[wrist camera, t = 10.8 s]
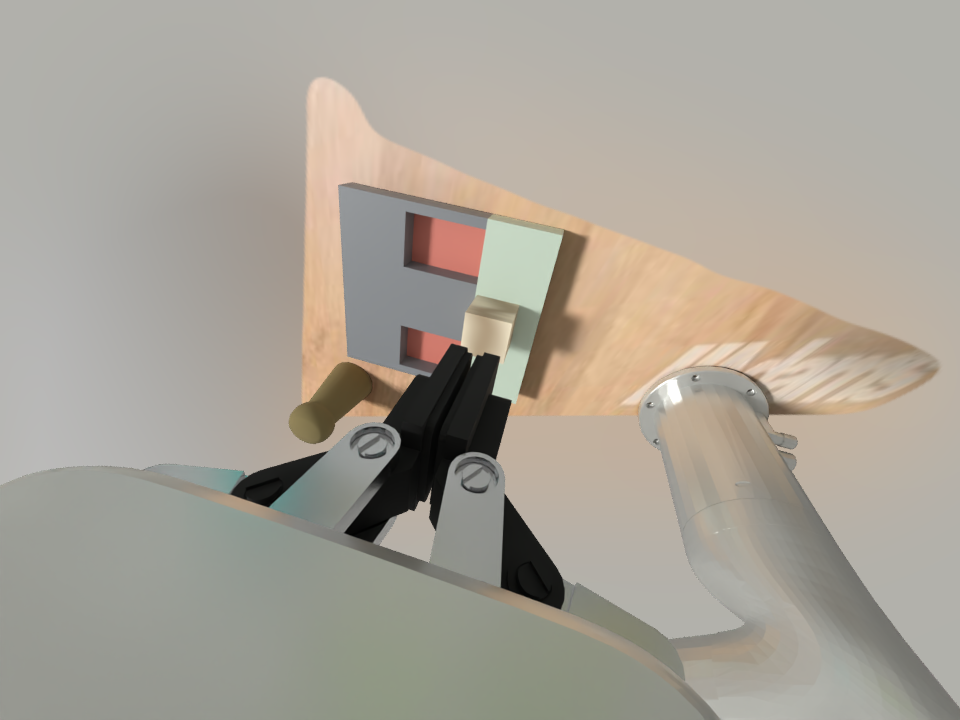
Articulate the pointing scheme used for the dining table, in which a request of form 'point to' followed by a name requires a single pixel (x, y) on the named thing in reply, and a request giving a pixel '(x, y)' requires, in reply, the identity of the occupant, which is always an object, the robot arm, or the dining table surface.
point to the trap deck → (437, 278)
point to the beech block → (489, 326)
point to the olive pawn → (330, 403)
